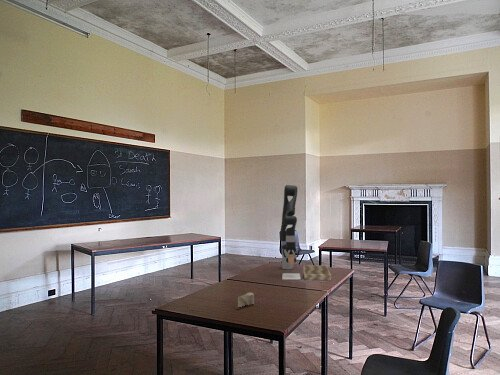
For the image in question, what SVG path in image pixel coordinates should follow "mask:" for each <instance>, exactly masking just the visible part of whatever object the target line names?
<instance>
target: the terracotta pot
mask: <svg viewBox="0 0 500 375" xmlns="http://www.w3.org/2000/svg"><path fill="white" fill-rule="evenodd" d="M295 255H296V254H295ZM295 255H294V254H288V265H293V266H294V265H295V263H296V262H295V261H294V258H295V257H294V256H295Z"/></svg>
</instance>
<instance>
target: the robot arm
mask: <svg viewBox="0 0 500 375" xmlns="http://www.w3.org/2000/svg"><path fill="white" fill-rule="evenodd" d="M283 190H284V191H283V192H284V193H283V207H282V214H281V215H282V216H281V226H280V232H279V240H280V242H285V244H282V246H281V269H282V270H293V268H294V265H288V254H294V255H295V256H294V261H295V263H296V262H297V258H299V255H300V249H299V248H297V247H296V246H297V245H296V244H297V243H296V242H297V241H296V226H297V222H298V218H297V217H296V215H295V214H296V204H297V199H298V198H297V197H298V186H297V185H290V184H286V185H285V186H284V189H283ZM288 197H292V198H291V199H290V200H289V198H288ZM289 226H291V227H289ZM295 252H296V253H295Z"/></svg>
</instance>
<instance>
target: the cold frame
mask: <svg viewBox="0 0 500 375" xmlns="http://www.w3.org/2000/svg"><path fill="white" fill-rule="evenodd" d="M302 267H303V270H302V272H303V279H304V281H331V280H332V274H331V272H330V270H329V265H303V266H302Z"/></svg>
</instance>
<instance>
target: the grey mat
mask: <svg viewBox="0 0 500 375" xmlns="http://www.w3.org/2000/svg"><path fill="white" fill-rule="evenodd" d="M281 278H282V279H281V280H282V281H283V280H285V281H286V280H287V281H292V280H293V281H295V280H296V281H301V273H296V272H295V273H294V272H293V273H287V272H286V273H284V272H283V273H282V276H281Z"/></svg>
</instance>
